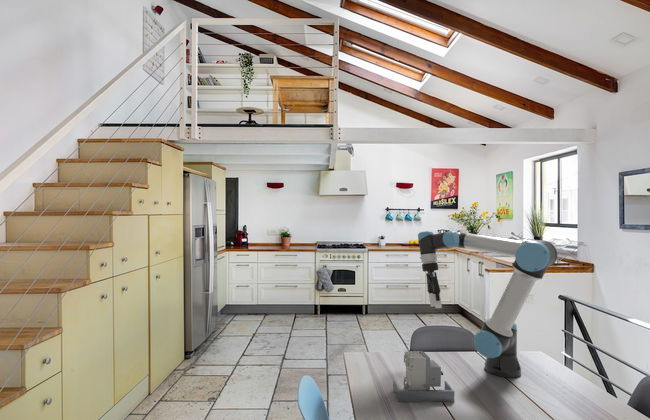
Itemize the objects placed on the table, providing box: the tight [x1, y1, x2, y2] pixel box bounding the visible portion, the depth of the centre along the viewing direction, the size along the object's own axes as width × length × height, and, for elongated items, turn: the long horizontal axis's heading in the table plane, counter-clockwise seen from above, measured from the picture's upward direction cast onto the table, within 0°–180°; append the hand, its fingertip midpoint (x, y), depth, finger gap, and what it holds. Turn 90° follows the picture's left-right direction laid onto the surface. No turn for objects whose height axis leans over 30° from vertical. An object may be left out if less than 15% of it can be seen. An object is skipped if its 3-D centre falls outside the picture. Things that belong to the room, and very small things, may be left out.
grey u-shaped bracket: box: [392, 380, 455, 403], centre depth 146 cm, size 22×9×4 cm, turn 91°
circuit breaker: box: [403, 350, 444, 390], centre depth 150 cm, size 8×14×15 cm, turn 95°
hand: (436, 307), depth 179 cm, fingers open, 13 cm apart
